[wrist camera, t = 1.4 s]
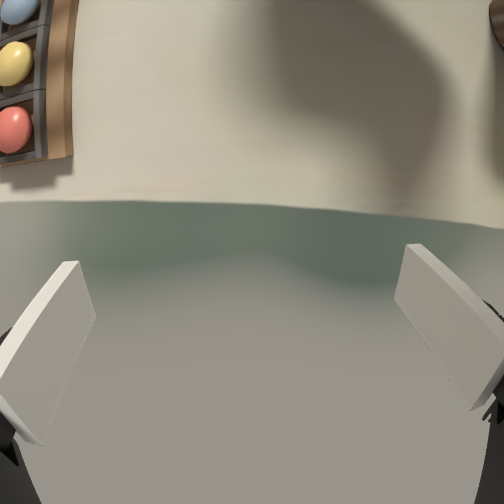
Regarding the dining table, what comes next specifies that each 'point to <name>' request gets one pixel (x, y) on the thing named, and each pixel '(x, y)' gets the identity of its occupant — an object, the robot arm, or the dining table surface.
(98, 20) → the dining table surface
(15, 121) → the button red
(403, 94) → the dining table surface
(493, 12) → the plant pot
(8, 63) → the button ochre
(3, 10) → the button blue
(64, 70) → the button panel
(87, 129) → the dining table surface
